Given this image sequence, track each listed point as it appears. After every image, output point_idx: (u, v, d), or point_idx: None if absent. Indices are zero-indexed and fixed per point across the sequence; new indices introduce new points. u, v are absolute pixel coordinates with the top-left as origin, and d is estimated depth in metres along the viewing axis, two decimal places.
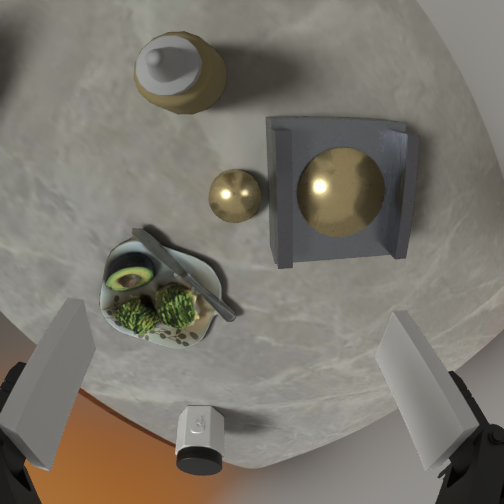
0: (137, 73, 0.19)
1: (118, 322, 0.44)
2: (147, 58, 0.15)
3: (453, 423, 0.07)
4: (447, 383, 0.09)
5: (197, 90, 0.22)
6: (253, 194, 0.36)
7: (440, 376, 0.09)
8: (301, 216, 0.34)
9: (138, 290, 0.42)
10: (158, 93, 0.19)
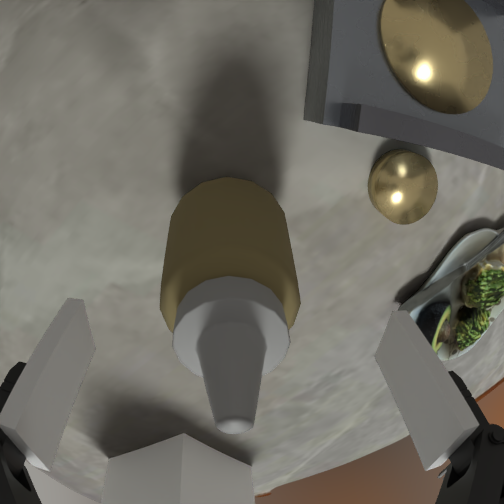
0: None
1: None
2: (233, 431, 0.09)
3: (453, 423, 0.07)
4: (447, 383, 0.09)
5: (281, 279, 0.13)
6: (411, 163, 0.22)
7: (440, 376, 0.09)
8: (462, 114, 0.17)
9: (452, 319, 0.31)
10: (280, 360, 0.13)
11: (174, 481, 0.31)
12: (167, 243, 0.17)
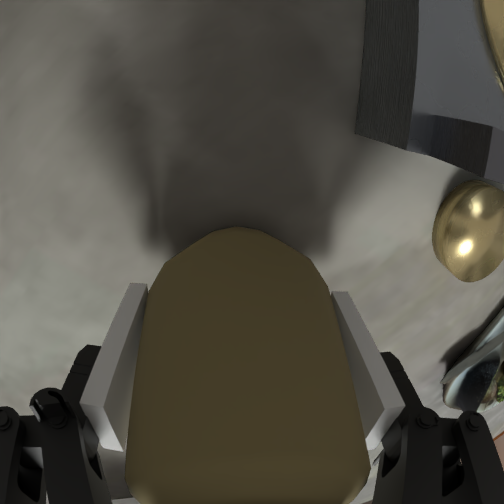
0: None
1: None
2: None
3: (376, 401, 0.09)
4: (375, 361, 0.10)
5: (347, 483, 0.05)
6: (491, 202, 0.14)
7: (368, 354, 0.10)
8: None
9: (496, 373, 0.23)
10: None
11: None
12: (136, 364, 0.09)
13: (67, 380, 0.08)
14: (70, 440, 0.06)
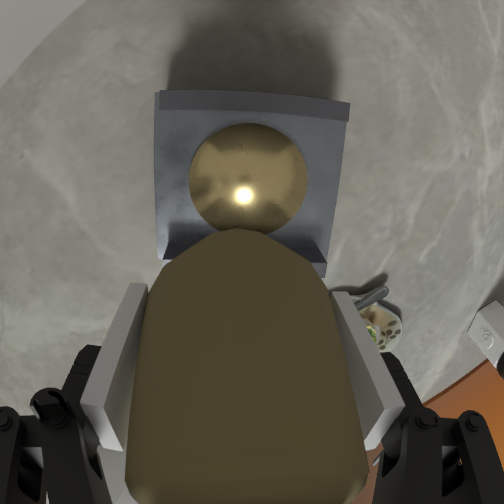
0: None
1: None
2: None
3: (376, 401, 0.09)
4: (375, 361, 0.10)
5: (345, 485, 0.05)
6: None
7: (368, 354, 0.10)
8: (272, 231, 0.29)
9: None
10: None
11: None
12: (136, 366, 0.09)
13: (67, 380, 0.08)
14: (70, 440, 0.06)
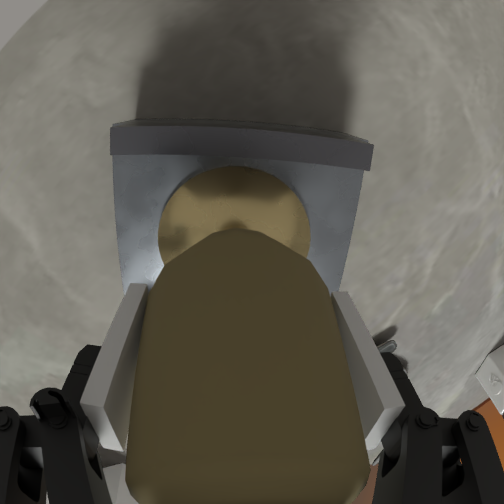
0: None
1: None
2: None
3: (376, 401, 0.09)
4: (375, 361, 0.10)
5: (347, 485, 0.05)
6: None
7: (368, 354, 0.10)
8: None
9: None
10: None
11: (113, 498, 0.38)
12: (137, 366, 0.09)
13: (67, 380, 0.08)
14: (70, 440, 0.06)
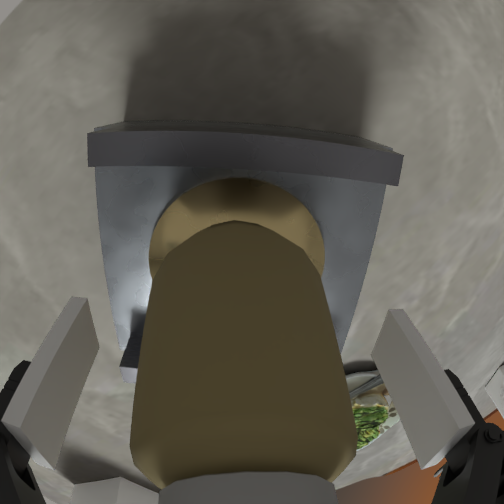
0: None
1: None
2: None
3: (448, 421, 0.07)
4: (443, 381, 0.09)
5: (335, 448, 0.06)
6: None
7: (436, 374, 0.09)
8: None
9: None
10: None
11: None
12: (142, 344, 0.10)
13: (0, 396, 0.07)
14: None
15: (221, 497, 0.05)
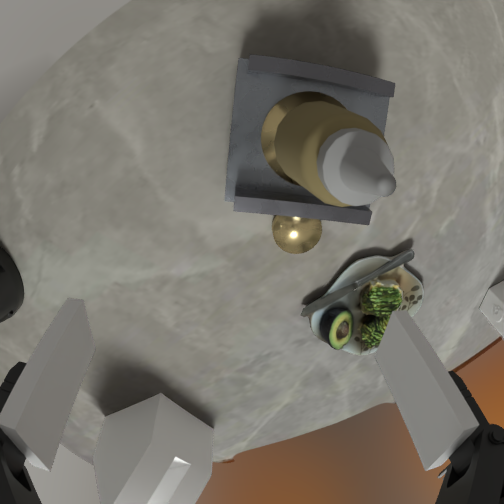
0: (357, 204, 0.18)
1: (377, 344, 0.49)
2: (383, 193, 0.14)
3: (453, 423, 0.07)
4: (447, 383, 0.09)
5: None
6: None
7: (440, 376, 0.09)
8: None
9: (356, 322, 0.46)
10: None
11: (150, 426, 0.47)
12: (289, 130, 0.23)
13: None
14: None
15: (350, 129, 0.17)
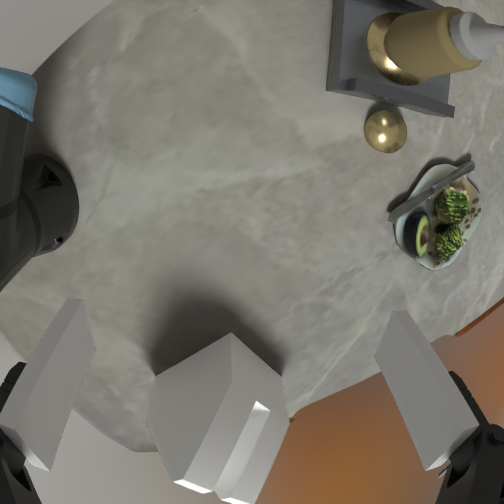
0: (480, 57, 0.18)
1: (446, 259, 0.48)
2: None
3: (453, 423, 0.07)
4: (447, 383, 0.09)
5: None
6: (388, 116, 0.37)
7: (440, 376, 0.09)
8: (416, 85, 0.32)
9: (431, 232, 0.46)
10: (493, 50, 0.17)
11: (225, 367, 0.46)
12: (411, 20, 0.22)
13: None
14: None
15: None
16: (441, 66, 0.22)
